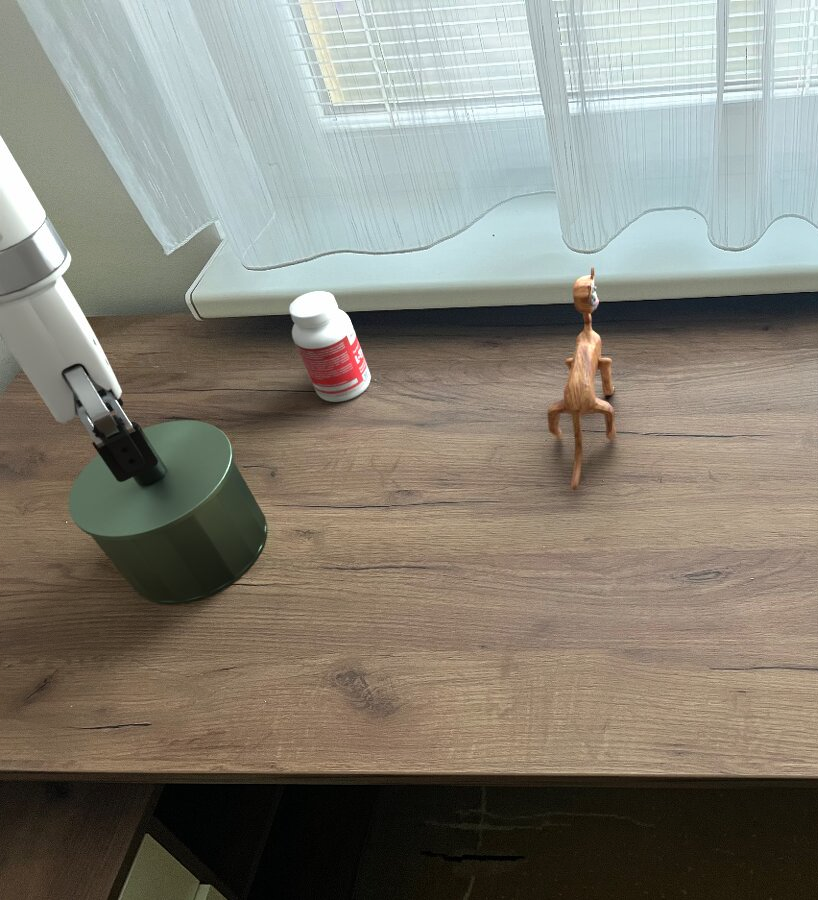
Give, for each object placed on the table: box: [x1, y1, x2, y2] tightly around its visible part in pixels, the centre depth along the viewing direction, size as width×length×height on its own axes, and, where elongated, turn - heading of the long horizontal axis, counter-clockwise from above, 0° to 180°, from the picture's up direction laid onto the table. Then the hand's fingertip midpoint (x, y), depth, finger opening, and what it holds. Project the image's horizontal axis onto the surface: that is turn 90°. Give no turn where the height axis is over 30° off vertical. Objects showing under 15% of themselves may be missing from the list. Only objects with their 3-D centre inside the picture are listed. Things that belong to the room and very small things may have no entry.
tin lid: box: [67, 419, 235, 540], centre depth 73 cm, size 14×14×6 cm
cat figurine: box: [546, 266, 617, 491], centre depth 83 cm, size 18×7×14 cm, turn 173°
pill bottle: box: [288, 290, 371, 403], centre depth 93 cm, size 6×6×11 cm
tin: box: [91, 461, 268, 606], centre depth 78 cm, size 13×13×10 cm
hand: (121, 440), depth 71 cm, fingers open, 9 cm apart
